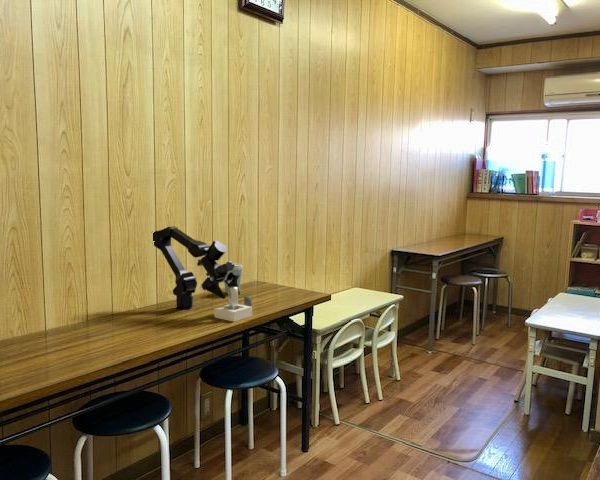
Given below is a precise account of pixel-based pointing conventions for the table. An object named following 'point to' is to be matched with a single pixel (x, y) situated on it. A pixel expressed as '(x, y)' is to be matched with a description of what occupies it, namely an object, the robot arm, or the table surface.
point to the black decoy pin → (248, 301)
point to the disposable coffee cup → (238, 269)
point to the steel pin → (233, 297)
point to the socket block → (233, 312)
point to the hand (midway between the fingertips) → (232, 296)
